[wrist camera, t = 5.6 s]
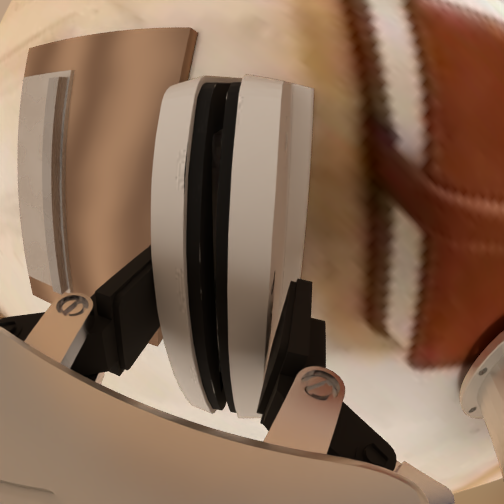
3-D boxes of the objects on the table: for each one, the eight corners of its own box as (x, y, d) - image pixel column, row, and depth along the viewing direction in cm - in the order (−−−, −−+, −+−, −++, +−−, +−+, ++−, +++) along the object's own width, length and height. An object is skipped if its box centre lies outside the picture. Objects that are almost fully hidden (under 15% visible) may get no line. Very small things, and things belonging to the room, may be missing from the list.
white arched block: (292, 338, 21) (278, 460, 12) (228, 331, 22) (185, 444, 13) (313, 84, 14) (324, 31, 5) (227, 82, 15) (137, 42, 6)
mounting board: (197, 32, 14) (190, 27, 13) (163, 337, 23) (157, 346, 22) (39, 49, 15) (29, 48, 14) (40, 288, 24) (32, 294, 23)
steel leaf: (74, 70, 15) (61, 69, 13) (73, 291, 22) (63, 300, 20) (27, 77, 15) (14, 77, 14) (31, 273, 22) (21, 280, 21)
